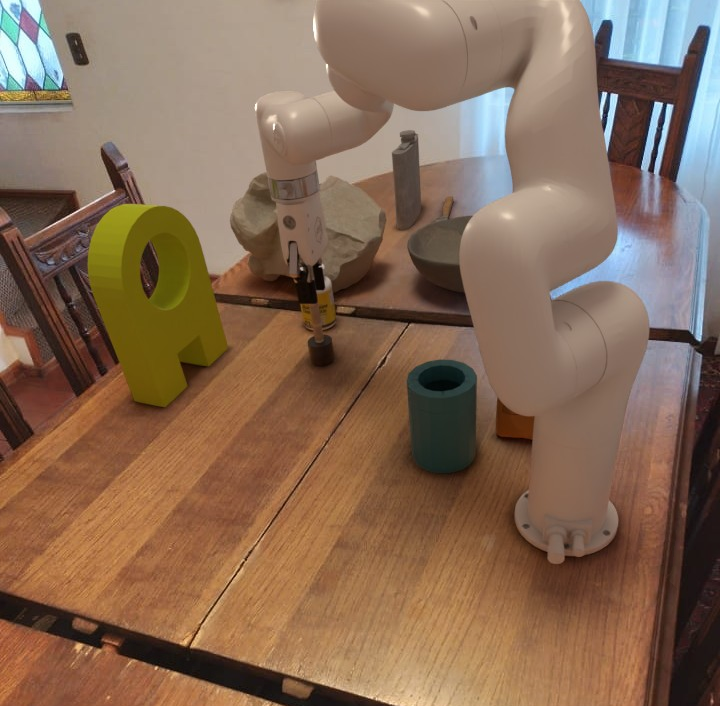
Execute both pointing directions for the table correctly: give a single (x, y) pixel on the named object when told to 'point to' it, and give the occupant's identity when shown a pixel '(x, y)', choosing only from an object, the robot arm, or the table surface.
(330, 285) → the pill bottle
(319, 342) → the scrub brush
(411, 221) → the hip flask
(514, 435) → the coffee package
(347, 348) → the table surface
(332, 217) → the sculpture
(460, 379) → the jar
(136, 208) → the decorative object
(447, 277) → the bowl
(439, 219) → the knife
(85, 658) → the table surface
